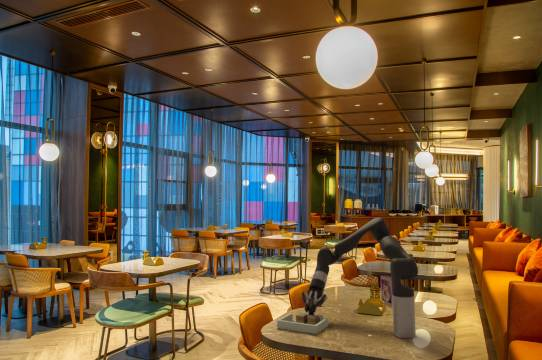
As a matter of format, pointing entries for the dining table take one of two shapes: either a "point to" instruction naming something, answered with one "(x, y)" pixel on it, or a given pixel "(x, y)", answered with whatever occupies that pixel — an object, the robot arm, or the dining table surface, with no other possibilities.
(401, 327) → the robot arm
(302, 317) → the walnut block
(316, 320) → the walnut block
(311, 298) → the scraper
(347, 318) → the dining table surface
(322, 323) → the tray
